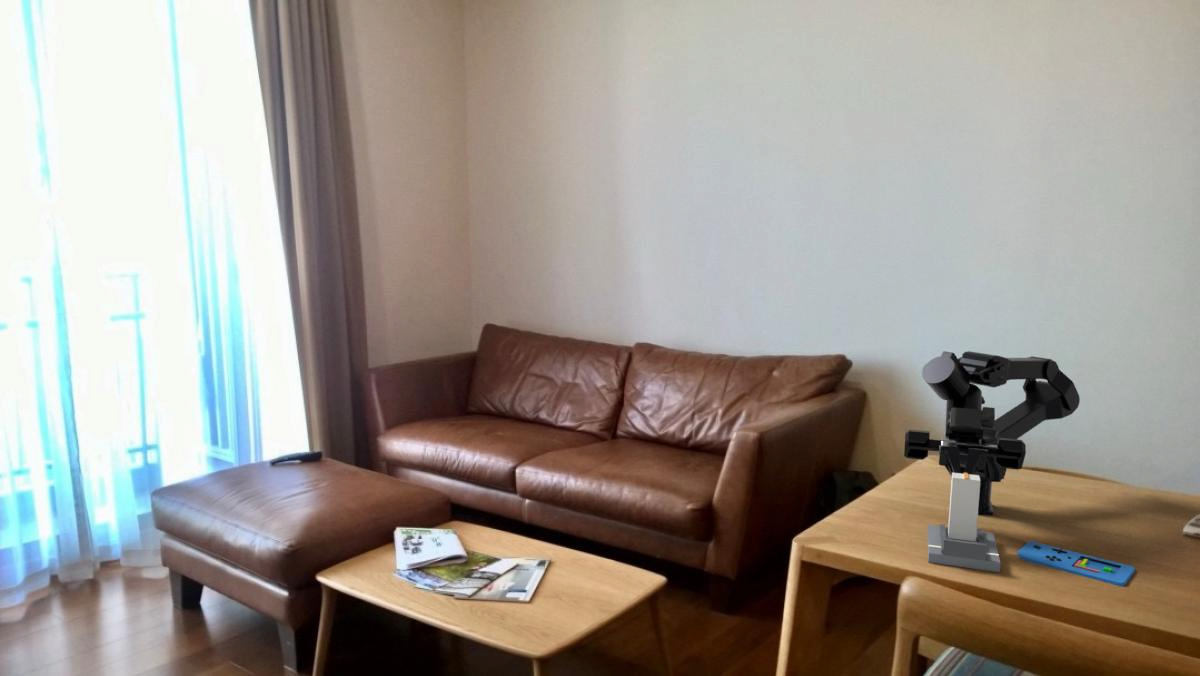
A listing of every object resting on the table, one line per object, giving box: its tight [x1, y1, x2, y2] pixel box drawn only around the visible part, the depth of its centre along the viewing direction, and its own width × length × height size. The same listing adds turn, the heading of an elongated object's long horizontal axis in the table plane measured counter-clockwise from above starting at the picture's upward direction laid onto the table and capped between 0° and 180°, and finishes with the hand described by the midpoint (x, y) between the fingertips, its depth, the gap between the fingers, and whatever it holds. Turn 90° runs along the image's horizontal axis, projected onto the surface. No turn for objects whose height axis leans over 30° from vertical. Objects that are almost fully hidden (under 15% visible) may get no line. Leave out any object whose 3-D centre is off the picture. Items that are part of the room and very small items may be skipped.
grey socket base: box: [926, 523, 1001, 573], centre depth 132 cm, size 13×10×4 cm
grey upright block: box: [947, 473, 980, 542], centre depth 133 cm, size 3×4×10 cm
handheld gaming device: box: [1016, 540, 1136, 587], centre depth 128 cm, size 8×1×15 cm
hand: (961, 493), depth 138 cm, fingers closed
